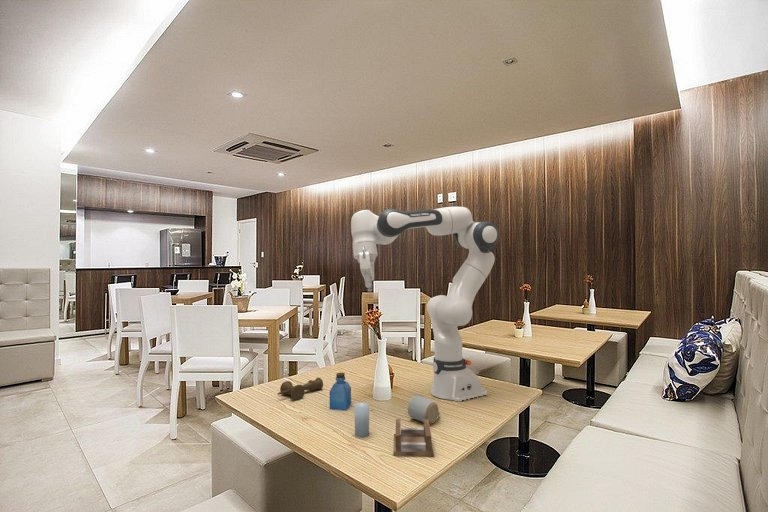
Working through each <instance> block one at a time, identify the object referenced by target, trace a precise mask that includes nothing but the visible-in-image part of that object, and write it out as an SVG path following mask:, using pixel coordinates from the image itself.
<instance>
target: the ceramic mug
mask: <svg viewBox="0 0 768 512" xmlns="http://www.w3.org/2000/svg"><path fill="white" fill-rule="evenodd" d="M439 411H440V410H439V405H438V403H436V402H435V401H433V400H432V399H428V398H427V397H424V396H422V395H419V394H416V395H415V394H414V396H412V398H411V399H410V400H409V403H408V407H407V413H408V416H409V417H410V418H411V419H413V420H416V421H419V422H422V423H424V419H428V420H429V425H430V424H434V423H435V422H436V421H437V419H438V418H439V417H440V416H441V415H440V414H441V412H439Z"/></svg>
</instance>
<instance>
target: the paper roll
mask: <svg viewBox="0 0 768 512" xmlns="http://www.w3.org/2000/svg"><path fill="white" fill-rule="evenodd" d="M354 435H355V437H357V438H366V437H368V436H369V435H370V403H368V402H366V401H365V402H364V401H360V402H356V403H355V404H354Z"/></svg>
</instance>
